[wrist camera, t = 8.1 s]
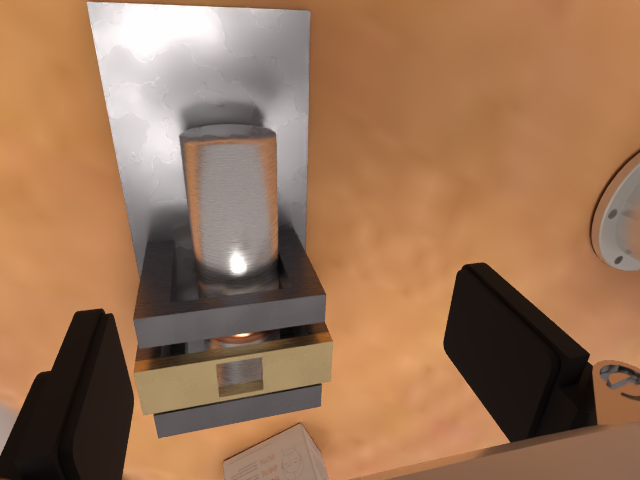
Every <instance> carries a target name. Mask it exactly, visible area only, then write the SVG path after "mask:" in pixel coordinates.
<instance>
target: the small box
mask: <svg viewBox="0 0 640 480" xmlns="http://www.w3.org/2000/svg"><path fill="white" fill-rule="evenodd" d="M223 470H224V480H329V477H328V474H327V471H326V468H325V465H324V462H323V458H322V455H321V453H320V451H319V450H318V448H317V447H316V445H315V444H314V442H313V440H312V439H311V437H310V436H309V434H308V433H307V431H306V430H305V428H304V427H303V425H302V424H301V423H299V424H297V425H295V426H294V427H292V428H289V429H287V430H285V431H284V432H281V433H279V434H277V435H275V436H273V437H272V438H270V439H268V440H266V441H264V442H262V443H260V444H258V445H256V446H254V447H252V448H250V449H248V450H246V451H244V452H242V453H240V454H238V455H236V456H234V457H232V458H230V459H228V460H226V461H224V462H223Z"/></svg>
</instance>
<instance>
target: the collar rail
mask: <svg viewBox="0 0 640 480" xmlns="http://www.w3.org/2000/svg"><path fill="white" fill-rule="evenodd" d="M87 7H88V13H89V18H90V23H91V28H92V33H93V39H94V44H95V49H96V54H97V59H98V65H99V70H100V75H101V80H102V85H103V91H104V96H105V101H106V106H107V111H108V116H109V122H110V127H111V132H112V137H113V142H114V148H115V153H116V158H117V163H118V168H119V174H120V179H121V184H122V189H123V194H124V200H125V205H126V210H127V215H128V220H129V226H130V231H131V236H132V241H133V246H134V251H135V257H136V262H137V267H138V272H139V277H140V284H139V290H138V295H137V301H136V307H135V312H134V318H133V321H134V326H135V330H136V335H137V340H138V347H137V354H136V360H135V367H134V377H135V381H136V386H137V390H138V394H139V399H140V403H141V408H142V412H143V416H144V415H149V414H154V420H155V425H156V429H157V434H158V438H162V437H167V436H172V435H178V434H183V433H188V432H193V431H198V430H203V429H208V428H213V427H218V426H223V425H229V424H234V423H239V422H244V421H249V420H254V419H259V418H264V417H269V416H274V415H279V414H285V413H290V412H295V411H300V410H305V409H310V408H315V407H320V406H321V391H322V384H321V383H324V382H330V381H331V366H332V350H333V340H332V338H331V336H330V333H329V331H328V329H327V326H326V324H325V307H326V293H325V291H324V289H323V287H322V285H321V283H320V281H319V279H318V277H317V275H316V273H315V271H314V268H313V266H312V264H311V262H310V260H309V258H308V256H307V254H306V206H307V155H308V105H309V55H310V11H309V10H284V9H258V8H233V7H207V6H182V5H157V4H131V3H106V2H87ZM218 124H244V125H254V126H260V127H264V128H268V129H270V130H272V131H274V132H275V133H276V136H277V198H278V261H279V289H277V290H269V291H260V292H252V293H244V294H236V295H228V296H220V297H212V298H204V299H199V297H198V289H197V281H196V273H195V264H194V256H193V248H192V240H191V231H190V223H189V215H188V207H187V198H186V190H185V182H184V173H183V165H182V157H181V149H180V140H179V135H180V134H181V133H182V132H184V131H186V130H189V129H192V128H196V127H201V126H207V125H218ZM279 328H280V340H273V341H267V342H260V343H254V344H247V345H241V346H234V347H228V348H221V349H214V350H208V351H205V347H204V339H211V338H218V337H225V336H232V335H238V334H245V333H252V332H259V331H266V330H273V329H279ZM259 357H260V358H261V379H259V380H254V381H248V382H242V383H236V384H231V385H225V386H219V387H218V378H217V369H216V364H221V363H228V362H234V361H240V360H246V359H252V358H259Z"/></svg>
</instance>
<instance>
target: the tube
mask: <svg viewBox="0 0 640 480" xmlns="http://www.w3.org/2000/svg"><path fill="white" fill-rule="evenodd" d="M179 140H180V149H181V157H182V165H183V173H184V182H185V190H186V198H187V207H188V215H189V223H190V231H191V240H192V248H193V256H194V264H195V273H196V281H197V289H198V297H199V299H204V298H212V297H220V296H228V295H236V294H244V293H252V292H260V291H269V290H277V289H279V261H278V198H277V136H276V133H275V132H274V131H272V130H270V129H268V128H264V127H260V126H254V125H244V124H218V125H207V126H201V127H196V128H192V129H189V130H186V131H184V132H182V133H181V134H180V135H179ZM273 340H280V328H279V329H273V330H266V331H259V332H252V333H245V334H238V335H232V336H225V337H218V338H211V339H204V347H205V351H208V350H214V349H221V348H228V347H234V346H241V345H247V344H254V343H260V342H267V341H273ZM216 369H217V378H218V387H219V386H225V385H231V384H236V383H242V382H248V381H254V380H259V379H261V358H260V357H259V358H252V359H246V360H240V361H234V362H228V363H221V364H216Z"/></svg>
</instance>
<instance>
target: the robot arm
mask: <svg viewBox="0 0 640 480" xmlns="http://www.w3.org/2000/svg"><path fill="white" fill-rule="evenodd" d="M591 238H592V244H593V248H594V250H595V252H596V254H597V256H598V257H599V258H600V259H601V260H602V261H603V262H605V263H606V264H608V265H610V266H611V267H613V268H615V269H618V270H621V271H635V270H640V152H639V153H638V154H637V155H636V156H635V157H634V158H632V159H631V160H630V161H629V162H628V163H627V164H626V165H625V166H624V167H623V168H622V169H621V170H620V171H619V173H618V174H617V175H616V176H615V178H614V179H613V180H612V182H611V183H610V184H609V186H608V187H607V189H606V191H605V193H604V194H603V196H602V198H601V200H600V202H599V204H598V207H597V209H596V212H595V215H594V219H593V224H592V236H591ZM443 344H444V350H445V352H446V354H447V355H448V357H449V358H450V360H451V361H452V362H453V364H454V365H455V366H456V368H457V369H458V371H459V372H460V373H461V375H462V376H463V377H464V379H465V380H466V382H467V383H468V384H469V386H470V387H471V388H472V390H473V391H474V393H475V394H476V395H477V397H478V398H479V400H480V401H481V402H482V404H483V405H484V406H485V408H486V409H487V411H488V412H489V413H490V415H491V416H492V417H493V419H494V420H495V422H496V423H497V424H498V426H499V427H500V429H501V430H502V431H503V433H504V434H505V435H506V437H507V438H508V440H509V441H510V442H511V443H508V444H503V445H499V446H494V447H490V448H485V449H481V450H476V451H472V452H467V453H463V454H458V455H454V456H450V457H445V458H441V459H436V460H432V461H428V462H423V463H419V464H415V465H410V466H406V467H402V468H397V469H393V470H389V471H384V472H380V473H376V474H371V475H367V476H363V477H358V478H354V479H350V480H640V369H638V368H637V367H635V366H632V365H629V364H627V363H624V362H619V361H614V360H604V361H600V362H597V363H596V364H595V365H594V366H592V365H591V364H590V363H589V362H588V359H589V356H590V354H589V353H588V352H587V351H586V350H585V349H584V348H582V347H581V346H580V345H579V344H578V343H577V342H575V341H574V340H573V339H572V338H571V337H570V336H569V335H567V334H566V333H565V332H564V331H563V330H562V329H561V328H559V327H558V326H557V325H556V324H555V323H554V322H553V321H551V320H550V319H549V318H548V317H547V316H546V315H545V314H543V313H542V312H541V311H540V310H539V309H538V308H537V307H535V306H534V305H533V304H532V303H531V302H530V301H529V300H527V299H526V298H525V297H524V296H523V295H522V294H521V293H519V292H518V291H517V290H516V289H515V288H514V287H513V286H511V285H510V284H509V283H508V282H507V281H506V280H505V279H503V278H502V277H501V276H500V275H499V274H498V273H497V272H495V271H494V270H493V269H492V268H491V267H490V266H489V265H487V264H486V263H474V264H466V265H464V266H463V267H462V269H461V270H460V271H458V273H457V275H456V280H455V286H454V291H453V296H452V301H451V306H450V311H449V316H448V321H447V326H446V331H445V336H444V342H443ZM133 407H134V395H133V390H132V386H131V382H130V378H129V374H128V370H127V366H126V362H125V358H124V354H123V350H122V347H121V343H120V339H119V335H118V331H117V327H116V323H115V319H114V316H113V314H112V313H109V314H105V312H104V310H103V309H102V308H101V309H93V310H85V311H77V312H76V313H75V314H74V316H73V319H72V321H71V324H70V326H69V329H68V331H67V333H66V336H65V338H64V341H63V343H62V346H61V348H60V350H59V353H58V355H57V358H56V360H55V363H54V365H53V367H52V370H51V371H46V372H41V373H39V374H38V375H37V376H36V378H35V380H34V382H33V384H32V386H31V388H30V391H29V393H28V395H27V397H26V400H25V402H24V404H23V406H22V408H21V411H20V413H19V415H18V417H17V420H16V422H15V424H14V426H13V429H12V431H11V433H10V436H9V438H8V440H7V442H6V444H5V447H4V449H3V451H2V453H1V456H0V480H122V474H123V468H124V462H125V456H126V450H127V444H128V438H129V432H130V426H131V420H132V414H133Z"/></svg>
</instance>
